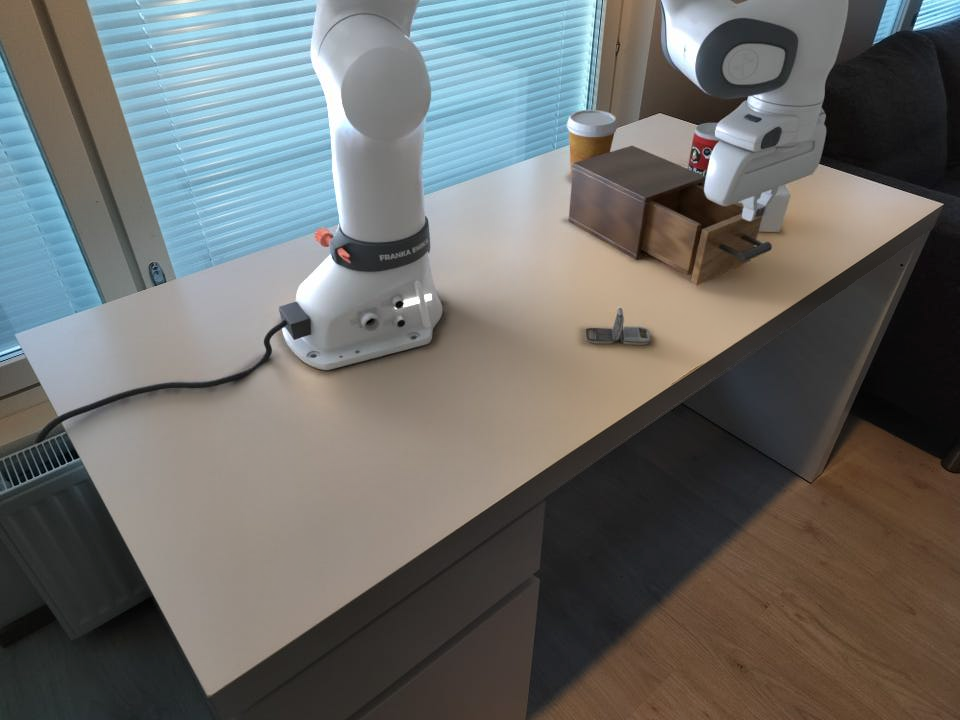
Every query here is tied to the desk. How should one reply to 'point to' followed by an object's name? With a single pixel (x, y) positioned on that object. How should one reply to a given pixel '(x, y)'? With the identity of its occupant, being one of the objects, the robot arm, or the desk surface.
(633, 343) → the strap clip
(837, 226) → the desk surface
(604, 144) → the disposable coffee cup
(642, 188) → the cabinet
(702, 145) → the canned food
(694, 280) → the drawer
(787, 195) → the medicine bottle
